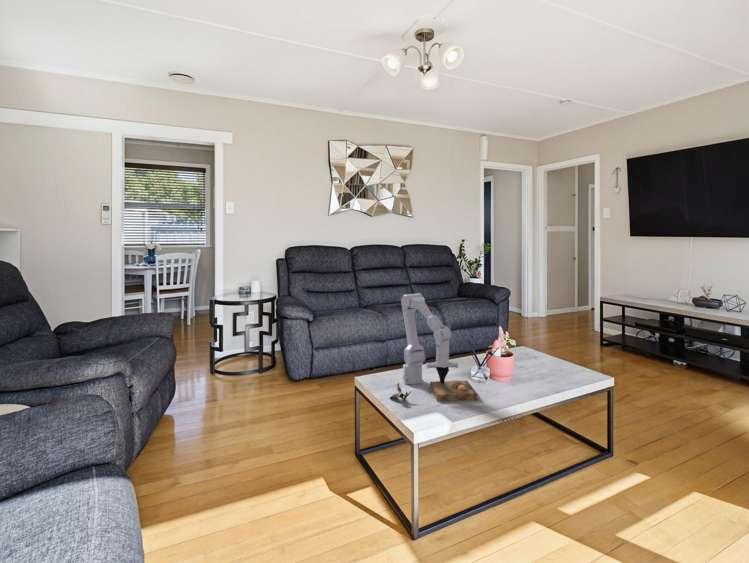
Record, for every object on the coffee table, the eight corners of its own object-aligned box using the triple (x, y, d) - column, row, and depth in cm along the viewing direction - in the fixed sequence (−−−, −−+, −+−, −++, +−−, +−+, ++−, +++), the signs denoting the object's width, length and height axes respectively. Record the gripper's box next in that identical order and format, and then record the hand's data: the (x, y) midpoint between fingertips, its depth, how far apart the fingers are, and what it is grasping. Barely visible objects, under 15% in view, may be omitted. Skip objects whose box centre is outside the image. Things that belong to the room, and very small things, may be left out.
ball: (469, 390, 183) (462, 396, 183) (467, 388, 187) (460, 394, 187) (463, 384, 183) (456, 389, 183) (461, 382, 187) (455, 387, 187)
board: (436, 401, 177) (437, 394, 176) (430, 387, 193) (430, 381, 192) (477, 400, 178) (477, 393, 177) (467, 386, 194) (467, 380, 193)
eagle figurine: (413, 396, 179) (399, 387, 186) (409, 386, 175) (395, 378, 182) (402, 409, 176) (388, 399, 183) (398, 399, 172) (384, 389, 178)
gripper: (428, 356, 178) (427, 386, 180) (460, 356, 179) (459, 385, 181) (425, 352, 185) (425, 380, 187) (456, 351, 186) (455, 380, 188)
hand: (441, 382), depth 184 cm, fingers closed
